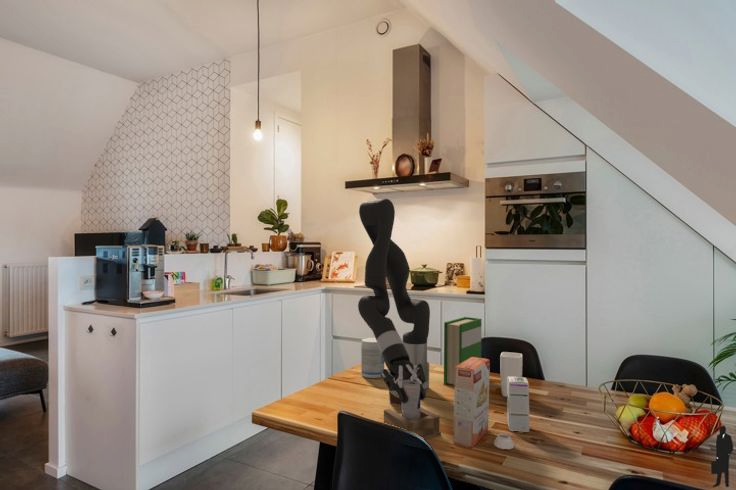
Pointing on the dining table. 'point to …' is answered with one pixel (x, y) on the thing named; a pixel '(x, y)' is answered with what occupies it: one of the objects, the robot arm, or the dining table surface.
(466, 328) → the hardback book
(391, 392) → the food container
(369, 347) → the supplement tub
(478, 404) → the cracker box
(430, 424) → the walnut cradle
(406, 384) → the energy drink
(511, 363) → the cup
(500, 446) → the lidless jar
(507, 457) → the dining table surface
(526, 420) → the syrup box
